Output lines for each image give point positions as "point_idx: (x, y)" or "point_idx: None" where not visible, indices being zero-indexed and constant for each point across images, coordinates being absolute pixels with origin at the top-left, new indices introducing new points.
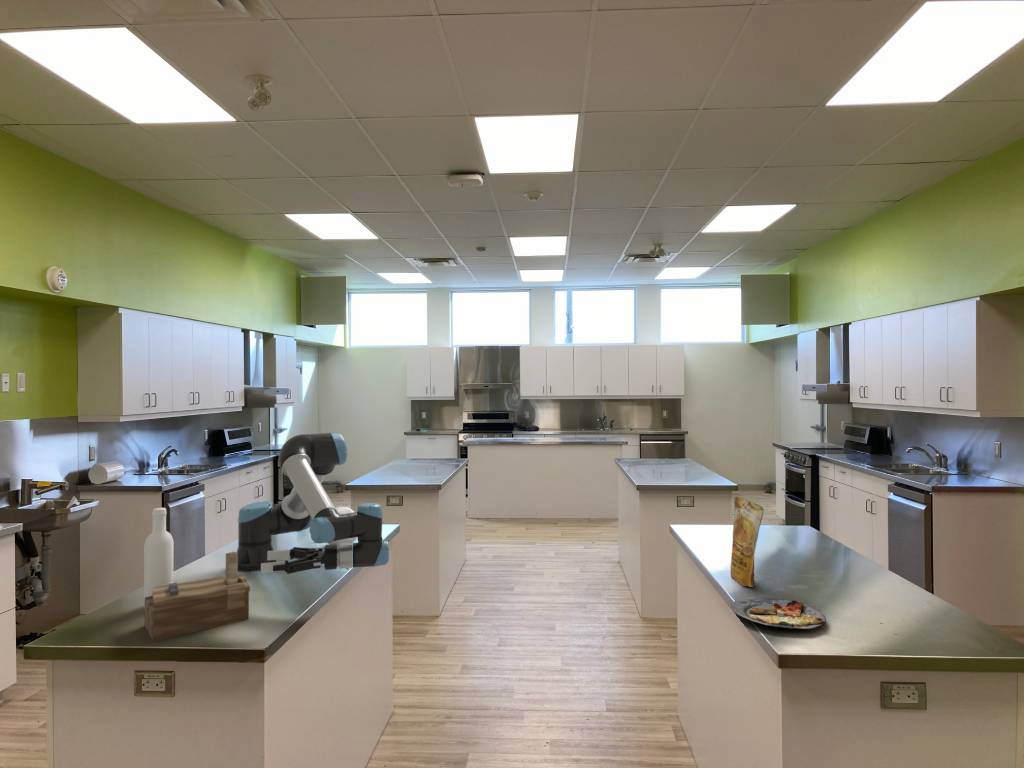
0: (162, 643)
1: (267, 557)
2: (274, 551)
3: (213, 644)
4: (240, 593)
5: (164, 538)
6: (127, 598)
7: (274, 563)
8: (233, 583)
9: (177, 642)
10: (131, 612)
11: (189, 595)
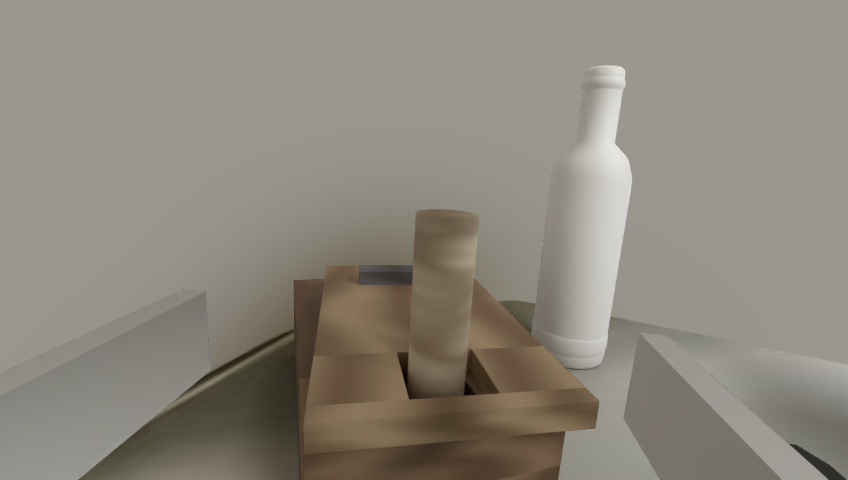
0: (266, 365)
1: (629, 392)
2: (674, 374)
3: (107, 459)
4: (301, 418)
5: (572, 159)
6: (622, 319)
7: (66, 347)
8: (409, 370)
9: (242, 386)
10: (525, 326)
11: (329, 295)
